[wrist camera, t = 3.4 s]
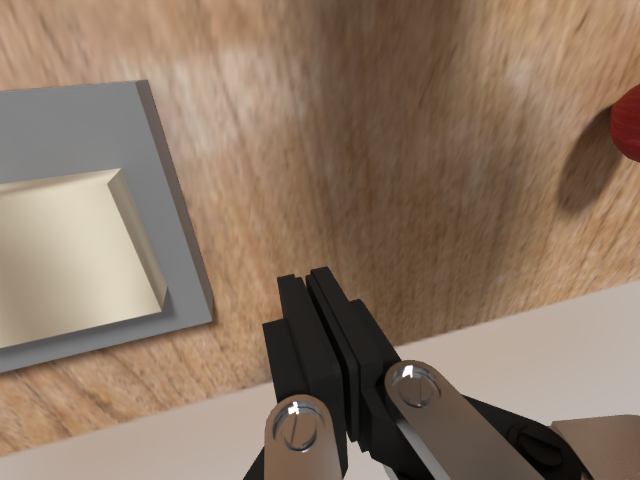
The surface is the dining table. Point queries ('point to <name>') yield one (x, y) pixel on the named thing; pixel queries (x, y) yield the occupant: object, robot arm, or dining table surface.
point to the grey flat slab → (144, 183)
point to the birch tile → (73, 256)
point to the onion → (627, 124)
